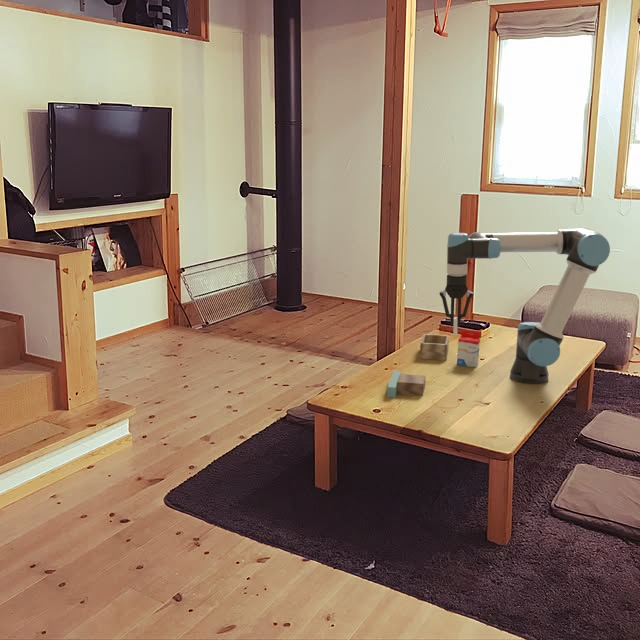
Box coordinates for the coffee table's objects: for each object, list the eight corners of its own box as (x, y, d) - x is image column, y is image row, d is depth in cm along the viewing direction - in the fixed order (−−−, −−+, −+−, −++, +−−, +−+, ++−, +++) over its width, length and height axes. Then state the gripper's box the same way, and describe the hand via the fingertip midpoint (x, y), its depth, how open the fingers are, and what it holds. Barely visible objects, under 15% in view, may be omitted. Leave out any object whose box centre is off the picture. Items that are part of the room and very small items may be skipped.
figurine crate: (448, 350, 357) (449, 335, 355) (446, 360, 342) (447, 344, 341) (422, 348, 359) (423, 333, 358) (419, 358, 345) (420, 343, 343)
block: (425, 387, 308) (425, 375, 307) (423, 396, 299) (423, 383, 297) (399, 385, 310) (400, 373, 309) (396, 394, 301) (397, 381, 299)
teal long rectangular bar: (401, 380, 315) (401, 371, 314) (395, 397, 296) (395, 387, 295) (393, 380, 316) (393, 370, 315) (387, 397, 297) (387, 387, 296)
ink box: (456, 365, 336) (458, 332, 332) (459, 361, 340) (460, 329, 337) (476, 367, 333) (478, 334, 329) (478, 364, 337) (480, 331, 333)
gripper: (474, 272, 299) (472, 332, 304) (439, 272, 301) (438, 331, 307) (474, 276, 291) (472, 337, 297) (438, 275, 294) (437, 336, 300)
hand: (455, 334), depth 302 cm, fingers closed
